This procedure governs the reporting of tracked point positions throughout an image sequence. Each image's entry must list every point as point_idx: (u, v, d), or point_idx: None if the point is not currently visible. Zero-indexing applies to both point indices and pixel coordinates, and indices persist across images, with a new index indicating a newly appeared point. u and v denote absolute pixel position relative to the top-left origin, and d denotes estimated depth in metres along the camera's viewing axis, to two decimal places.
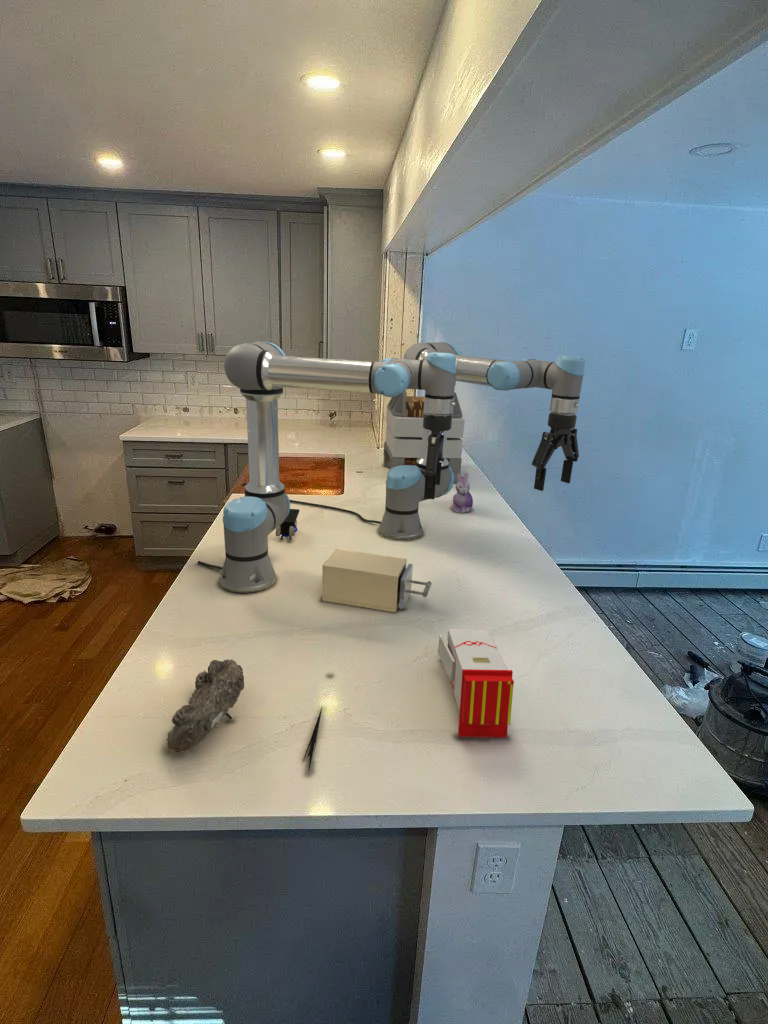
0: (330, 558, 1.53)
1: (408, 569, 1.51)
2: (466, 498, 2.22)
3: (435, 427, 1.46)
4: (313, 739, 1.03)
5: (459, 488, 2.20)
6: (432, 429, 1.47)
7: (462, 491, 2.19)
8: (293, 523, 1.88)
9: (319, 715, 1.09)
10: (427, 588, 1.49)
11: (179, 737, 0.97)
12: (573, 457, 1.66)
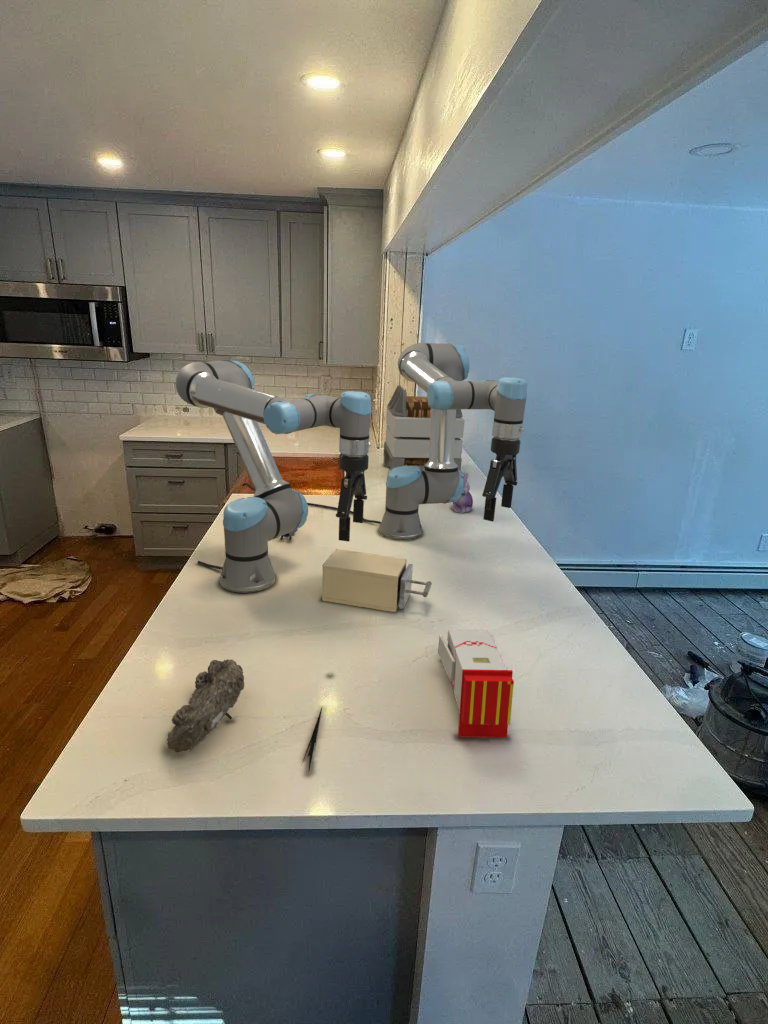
0: (330, 558, 1.53)
1: (408, 569, 1.51)
2: (466, 498, 2.22)
3: (349, 468, 1.42)
4: (313, 739, 1.03)
5: None
6: (346, 470, 1.42)
7: (462, 491, 2.19)
8: None
9: (319, 715, 1.09)
10: (427, 588, 1.49)
11: (179, 737, 0.97)
12: (513, 481, 1.60)
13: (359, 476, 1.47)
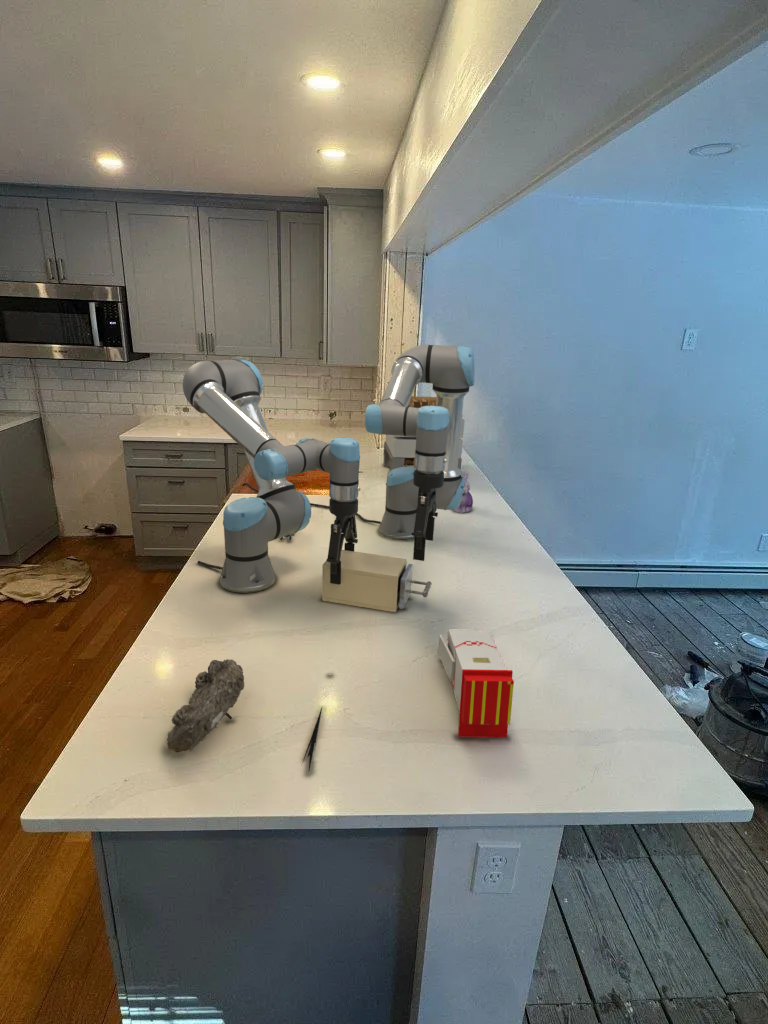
0: None
1: (408, 569, 1.51)
2: (466, 498, 2.22)
3: (339, 512, 1.45)
4: (313, 739, 1.03)
5: None
6: (336, 514, 1.45)
7: None
8: None
9: (319, 715, 1.09)
10: (427, 588, 1.49)
11: (179, 737, 0.97)
12: (434, 512, 1.50)
13: (349, 519, 1.50)
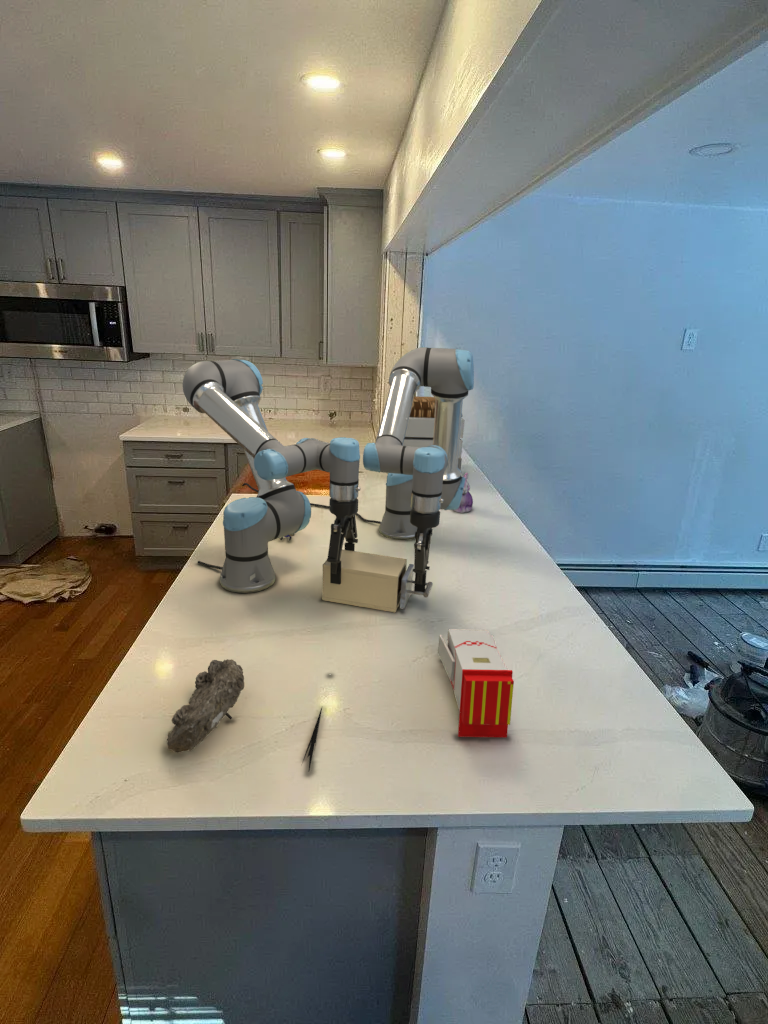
0: None
1: (409, 569, 1.51)
2: (466, 498, 2.22)
3: (339, 512, 1.45)
4: (313, 739, 1.03)
5: None
6: (336, 514, 1.45)
7: None
8: None
9: (319, 715, 1.09)
10: (428, 588, 1.49)
11: (179, 737, 0.97)
12: (426, 564, 1.49)
13: (349, 519, 1.50)
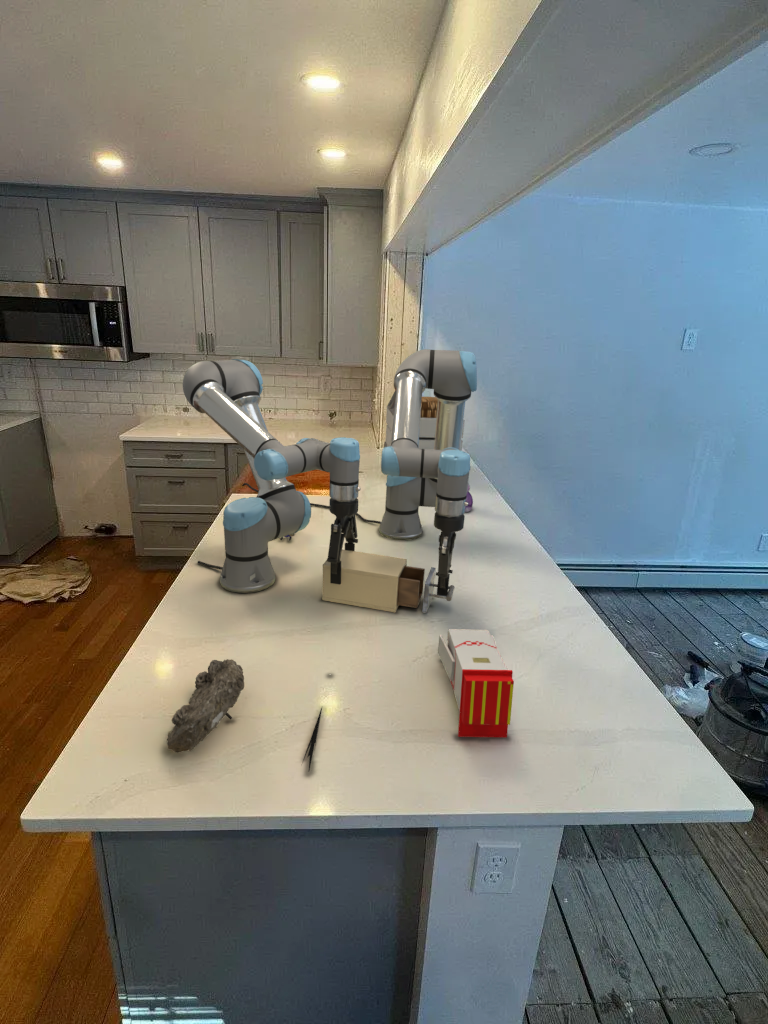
0: None
1: (431, 572, 1.50)
2: (466, 498, 2.22)
3: (339, 512, 1.45)
4: (313, 739, 1.03)
5: None
6: (336, 514, 1.45)
7: None
8: None
9: (319, 715, 1.09)
10: (451, 592, 1.48)
11: (179, 737, 0.97)
12: (449, 567, 1.48)
13: (349, 519, 1.50)
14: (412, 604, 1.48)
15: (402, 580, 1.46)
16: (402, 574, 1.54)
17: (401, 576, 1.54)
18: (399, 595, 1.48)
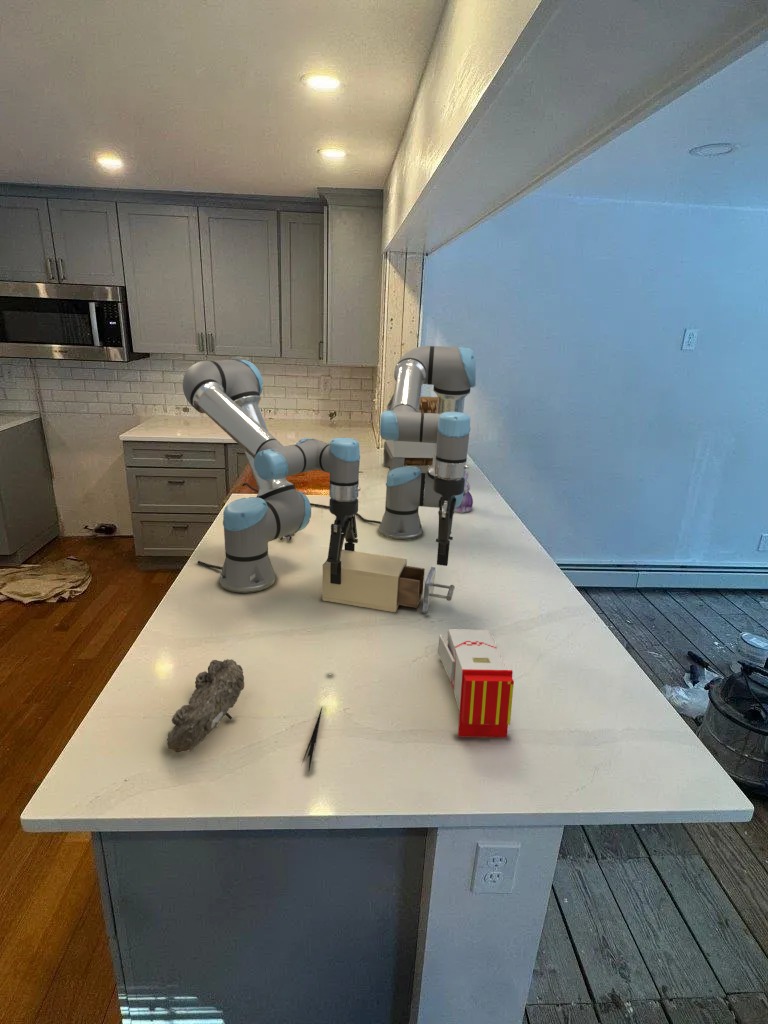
0: None
1: (431, 572, 1.50)
2: (466, 498, 2.22)
3: (339, 512, 1.45)
4: (313, 739, 1.03)
5: None
6: (336, 514, 1.45)
7: None
8: None
9: (319, 715, 1.09)
10: (451, 592, 1.48)
11: (179, 737, 0.97)
12: (450, 534, 1.45)
13: (349, 519, 1.50)
14: (412, 604, 1.48)
15: (402, 580, 1.46)
16: (402, 574, 1.54)
17: (401, 576, 1.54)
18: (400, 595, 1.48)
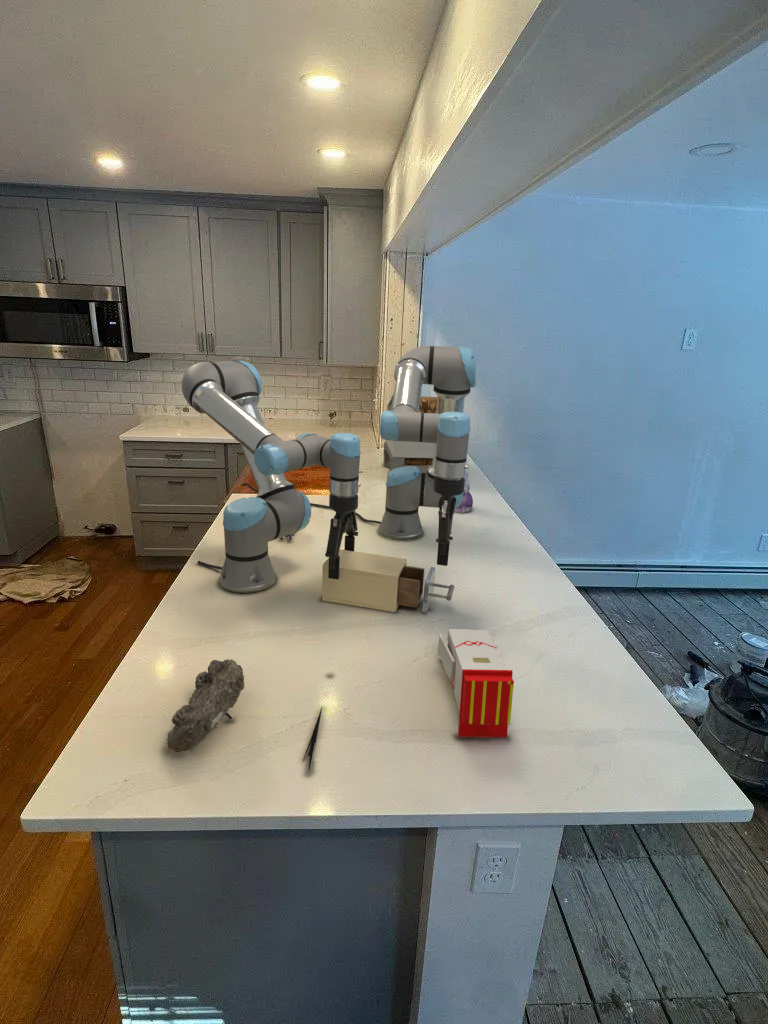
0: None
1: (431, 572, 1.50)
2: (466, 498, 2.22)
3: (339, 508, 1.45)
4: (313, 739, 1.03)
5: None
6: (336, 510, 1.45)
7: None
8: None
9: (319, 715, 1.09)
10: (450, 591, 1.48)
11: (179, 737, 0.97)
12: (450, 534, 1.45)
13: (349, 515, 1.50)
14: (412, 604, 1.48)
15: (402, 580, 1.46)
16: (402, 574, 1.54)
17: (401, 576, 1.55)
18: (399, 595, 1.48)
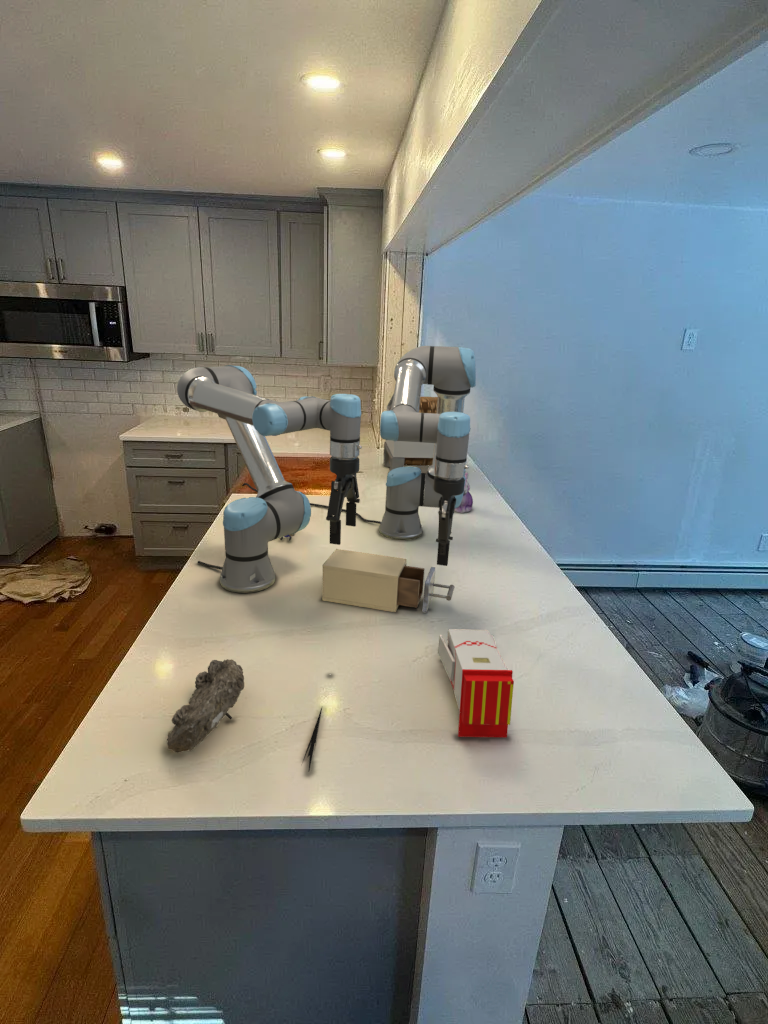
0: (330, 558, 1.53)
1: (431, 572, 1.50)
2: (466, 498, 2.22)
3: (340, 471, 1.41)
4: (313, 739, 1.03)
5: None
6: (337, 473, 1.42)
7: None
8: None
9: (319, 715, 1.09)
10: (450, 591, 1.48)
11: (179, 737, 0.97)
12: (450, 534, 1.45)
13: (350, 479, 1.46)
14: (412, 604, 1.48)
15: (402, 580, 1.46)
16: (402, 574, 1.54)
17: (401, 576, 1.55)
18: (399, 595, 1.48)
